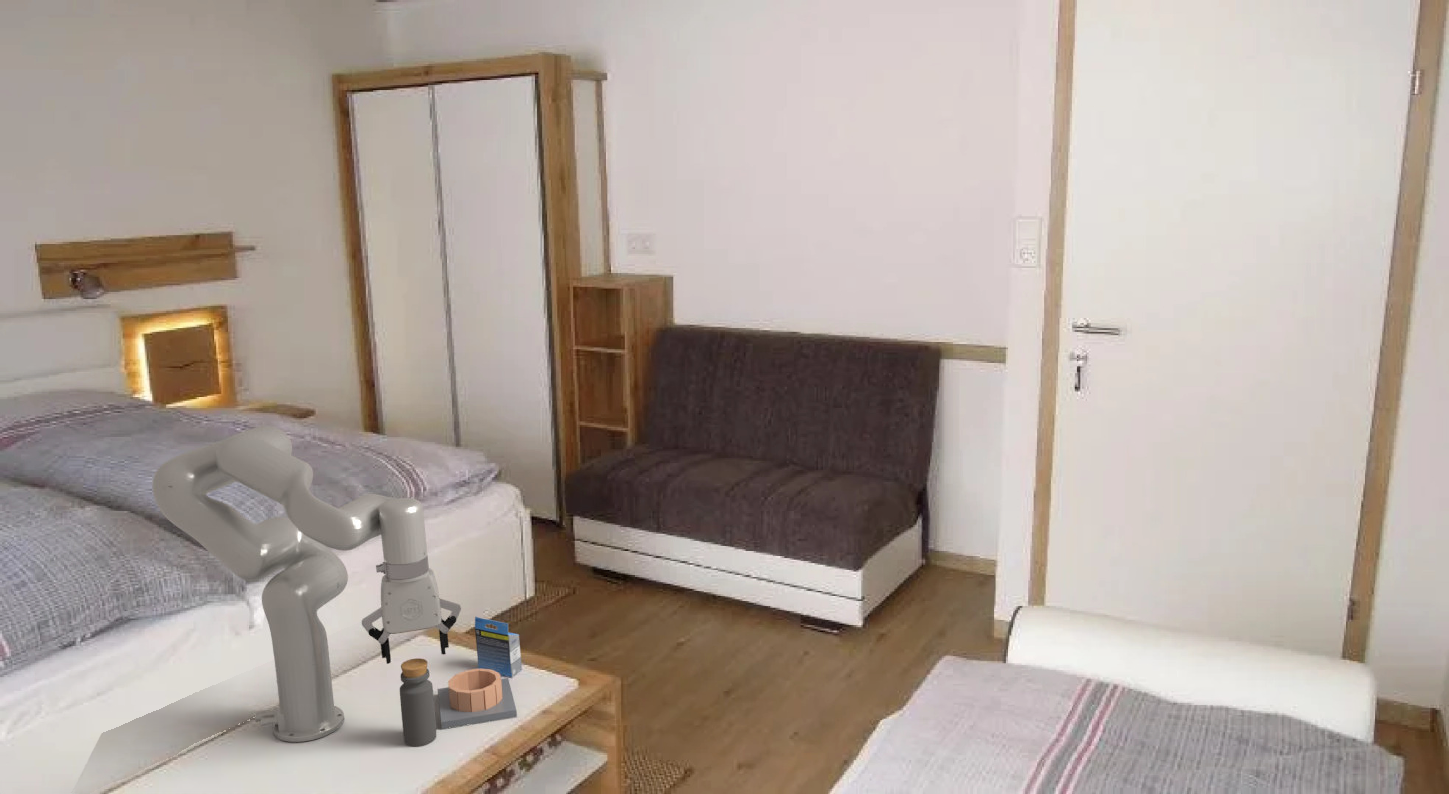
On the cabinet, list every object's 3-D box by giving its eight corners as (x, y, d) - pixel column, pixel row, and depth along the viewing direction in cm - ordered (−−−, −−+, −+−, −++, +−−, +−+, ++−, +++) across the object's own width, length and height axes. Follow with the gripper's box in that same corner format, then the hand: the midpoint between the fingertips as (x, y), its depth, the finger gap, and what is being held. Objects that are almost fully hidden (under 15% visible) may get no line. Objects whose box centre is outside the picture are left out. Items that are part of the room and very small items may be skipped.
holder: (441, 729, 198) (439, 702, 197) (438, 695, 211) (436, 670, 210) (516, 717, 202) (515, 690, 201) (508, 684, 215) (506, 659, 214)
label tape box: (522, 670, 221) (519, 616, 219) (511, 679, 218) (507, 623, 215) (488, 663, 225) (485, 609, 223) (476, 671, 222) (473, 617, 219)
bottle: (441, 731, 198) (435, 657, 194) (429, 747, 192) (423, 671, 189) (411, 730, 198) (405, 656, 195) (398, 746, 192) (392, 670, 189)
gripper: (355, 581, 182) (366, 673, 185) (457, 567, 187) (466, 656, 191) (356, 567, 189) (366, 655, 192) (455, 553, 194) (463, 640, 198)
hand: (416, 656), depth 191 cm, fingers open, 9 cm apart
